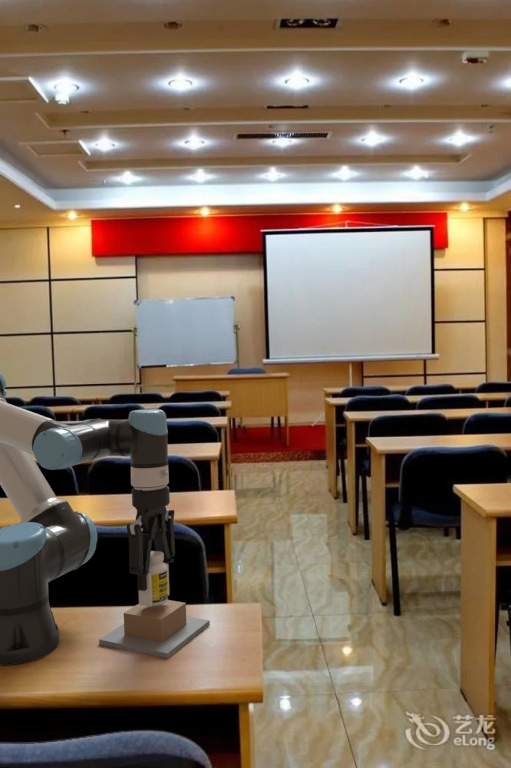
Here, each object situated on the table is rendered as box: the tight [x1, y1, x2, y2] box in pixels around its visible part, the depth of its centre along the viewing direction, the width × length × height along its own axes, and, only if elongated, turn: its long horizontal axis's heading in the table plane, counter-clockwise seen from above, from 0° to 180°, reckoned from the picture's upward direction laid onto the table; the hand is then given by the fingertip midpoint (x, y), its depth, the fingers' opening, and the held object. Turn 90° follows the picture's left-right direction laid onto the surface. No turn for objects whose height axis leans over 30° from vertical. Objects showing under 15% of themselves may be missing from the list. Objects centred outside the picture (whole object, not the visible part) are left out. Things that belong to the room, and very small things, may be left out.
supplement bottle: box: [148, 550, 169, 606], centre depth 129 cm, size 5×5×10 cm
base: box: [98, 599, 211, 660], centre depth 130 cm, size 16×16×6 cm
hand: (154, 599), depth 129 cm, fingers closed on supplement bottle, 5 cm apart
